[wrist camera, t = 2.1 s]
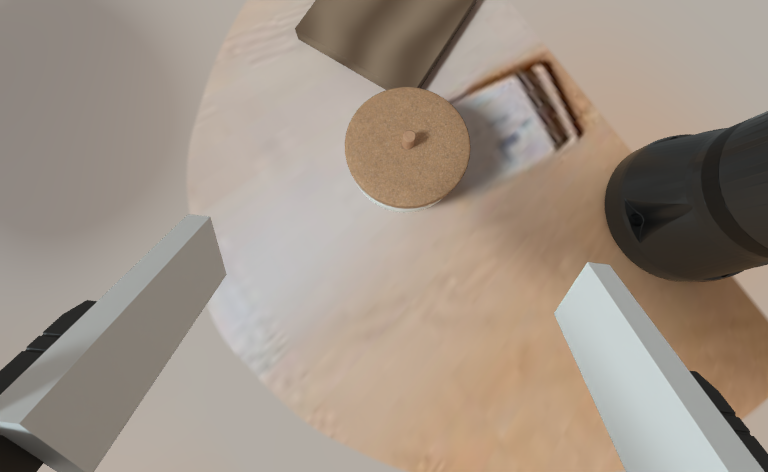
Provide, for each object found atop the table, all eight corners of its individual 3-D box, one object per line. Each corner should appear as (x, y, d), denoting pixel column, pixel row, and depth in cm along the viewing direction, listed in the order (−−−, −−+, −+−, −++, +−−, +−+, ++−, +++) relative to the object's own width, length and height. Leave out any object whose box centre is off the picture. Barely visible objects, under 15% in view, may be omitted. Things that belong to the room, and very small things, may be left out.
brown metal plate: (475, 2, 37) (479, -9, 36) (410, 103, 35) (411, 95, 34) (367, -57, 38) (367, -71, 37) (298, 39, 36) (295, 28, 35)
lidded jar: (414, 110, 35) (426, 50, 26) (470, 187, 34) (503, 153, 25) (333, 161, 34) (316, 118, 25) (388, 242, 33) (391, 228, 24)
